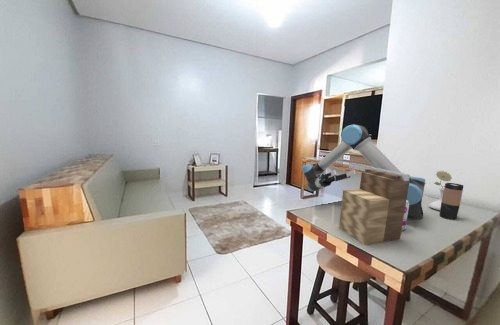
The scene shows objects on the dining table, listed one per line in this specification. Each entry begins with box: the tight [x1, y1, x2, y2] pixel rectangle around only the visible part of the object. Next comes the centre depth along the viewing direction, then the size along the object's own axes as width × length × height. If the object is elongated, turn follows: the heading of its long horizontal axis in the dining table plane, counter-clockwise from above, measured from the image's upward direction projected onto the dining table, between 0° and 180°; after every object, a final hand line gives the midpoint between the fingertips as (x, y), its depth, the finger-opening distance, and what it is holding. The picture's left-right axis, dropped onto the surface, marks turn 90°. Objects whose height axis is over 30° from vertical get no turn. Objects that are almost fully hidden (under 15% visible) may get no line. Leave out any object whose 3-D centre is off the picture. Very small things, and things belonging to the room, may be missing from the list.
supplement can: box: [401, 200, 409, 232], centre depth 104 cm, size 8×8×15 cm
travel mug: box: [439, 182, 464, 221], centre depth 118 cm, size 8×8×20 cm
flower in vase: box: [428, 170, 453, 211], centre depth 131 cm, size 13×11×25 cm
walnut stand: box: [338, 169, 410, 246], centre depth 96 cm, size 16×20×30 cm
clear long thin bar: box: [348, 162, 411, 181], centre depth 99 cm, size 30×3×2 cm, turn 19°
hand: (345, 172), depth 118 cm, fingers open, 13 cm apart
